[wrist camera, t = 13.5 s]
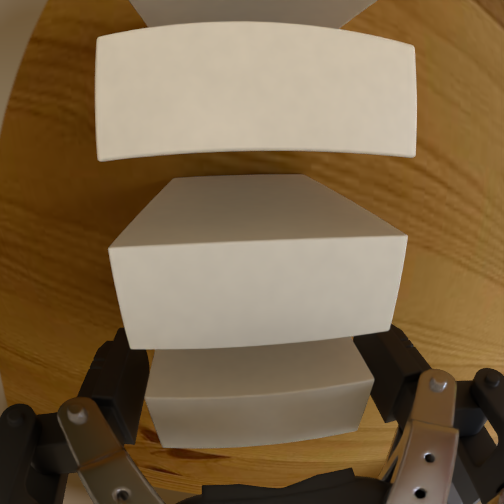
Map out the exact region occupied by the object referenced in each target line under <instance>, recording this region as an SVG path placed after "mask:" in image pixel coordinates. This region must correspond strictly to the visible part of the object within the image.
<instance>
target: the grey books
mask: <svg viewBox="0 0 504 504" xmlns="http://www.w3.org/2000/svg"><path fill="white" fill-rule="evenodd" d="M479 501H480V498H479V496H478V494H477V492H476V490H475V488H474V486H473V484H472V482H471V479H470V477H469V475H468V473H467V471H466V469H465V467H464V466H463V464H462V462H461V460H460V458H459V456H458V454H457V453H456V460H455V466H454V471H453V477H452V482H451V487H450V491H449V496H448V500H447V504H476V503H477V502H479Z"/></svg>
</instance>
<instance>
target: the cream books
mask: <svg viewBox="0 0 504 504" xmlns="http://www.w3.org/2000/svg"><path fill="white" fill-rule="evenodd" d="M129 1H130V3H131V4H132V5H133V7H134V8H135V10H136V11H137V12H138V14H139V15H140V16H141V18H142V19H143V21H144V22H145V23H146V25H147V26H148V27H149V28H143V29H136V30H130V31H125V32H119V33H114V34H109V35H105V36H100V37H98V38H97V41H96V61H95V125H96V146H97V159H98V161H101V162H103V161H111V160H120V159H129V158H138V157H149V156H160V155H173V154H187V153H205V152H229V151H318V152H342V153H359V154H374V155H386V156H397V157H407V158H413V157H415V155H416V129H417V90H416V65H415V50H414V46H412V45H410V44H406V43H402V42H399V41H395V40H391V39H387V38H382V37H378V36H373V35H368V34H364V33H358V32H353V31H347V30H341V29H339V28H340V27H342V26H343V25H344V24H346V23H347V22H348V21H350V20H351V19H352V18H354V17H355V16H356V15H358V14H359V13H360V12H362V11H363V10H365V9H366V8H367V7H369V6H370V5H372V4H373V3H374V2H376V1H377V0H129ZM407 239H408V236H407V235H406V234H404V233H403V232H401V231H400V230H398V229H396V228H395V227H393V226H392V225H390V224H388V223H387V222H385V221H384V220H382V219H380V218H379V217H377V216H376V215H374V214H372V213H371V212H369V211H367V210H366V209H364V208H362V207H361V206H359V205H357V204H355V203H354V202H352V201H350V200H349V199H347V198H345V197H343V196H342V195H340V194H338V193H336V192H335V191H333V190H331V189H329V188H328V187H326V186H324V185H322V184H320V183H319V182H317V181H315V180H313V179H311V178H309V177H307V176H306V175H304V174H259V175H224V176H202V177H184V178H173V179H172V180H171V181H170V182H169V183H168V184H167V185H166V186H165V187H164V188H163V189H162V190H161V191H160V192H159V193H158V194H157V195H156V196H155V197H154V198H153V200H152V201H151V202H150V203H149V204H148V205H147V206H146V207H145V208H144V209H143V210H142V211H141V212H140V213H139V214H138V215H137V216H136V217H135V219H134V220H133V221H132V222H131V223H130V224H129V225H128V226H127V227H126V228H125V229H124V231H123V232H122V233H121V234H120V235H119V236H118V237H117V238H116V240H115V241H114V242H113V243H112V244H111V245H110V246H109V247H108V252H109V258H110V264H111V269H112V274H113V279H114V284H115V289H116V294H117V298H118V303H119V307H120V311H121V315H122V320H123V324H124V328H125V331H126V335H127V339H128V343H129V346H130V349H207V348H230V347H247V346H262V345H275V344H287V343H298V342H307V341H317V340H326V339H334V338H342V337H350V336H357V335H364V334H371V333H377V332H384V331H388V330H389V329H390V325H391V321H392V317H393V313H394V308H395V304H396V299H397V295H398V290H399V285H400V280H401V274H402V269H403V263H404V258H405V252H406V245H407Z"/></svg>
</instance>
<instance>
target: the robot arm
mask: <svg viewBox="0 0 504 504" xmlns="http://www.w3.org/2000/svg"><path fill="white" fill-rule="evenodd" d="M353 342H354V344H355V346H356V347H357V349H358V351H359V353H360V354H361V356H362V358H363V360H364V361H365V363H366V365H367V367H368V368H369V370H370V372H371V374H372V375H373V377H374V383H373V386H372V389H371V392H370V395H371V397H372V399H373V401H374V402H375V404H376V406H377V408H378V410H379V412H380V414H381V416H382V418H383V420H384V422H385V423H388V422H391V421H395V420H397V422H398V424H399V425H398V427H397V429H396V431H395V435H394V438H393V441H392V444H391V447H390V450H389V452H388V455H387V458H386V461H385V464H384V466H383V469H382V471H381V473H380V475H379V477H378V479H375V478H370V477H361V476H355V475H354V472H353V470H352V468H348V469H344V470H339V471H334V472H330V473H324V474H319V475H316V476H313V477H311V478H308V479H306V480H303V481H301V482H298V483H295V484H293V485H290V486H287V487H284V488H267V487H258V486H250V485H242V484H233V485H202V494H201V495H196V496H193V497H190V498H187V499H185V500H182V501H180V502H178V503H176V504H447V500H448V496H449V491H450V487H451V482H452V477H453V471H454V466H455V460H456V453H457V454H458V456H459V458H460V460H461V462H462V464H463V466H464V467H465V469H466V471H467V473H468V475H469V477H470V479H471V482H472V484H473V486H474V488H475V490H476V492H477V494H478V496H479V498H480V500H481V503H482V504H504V376H503V375H502V374H501V373H500V372H498V371H497V370H494V369H491V368H483V369H480V370H479V371H478V372H477V373H476V375H475V377H474V379H473V380H471V381H455V379H454V377H453V376H452V375H450V374H449V373H447V372H446V371H443V370H440V369H432V368H431V367H430V366H429V364H428V363H427V362H426V360H425V359H424V358H423V357H422V355H421V354H420V353H419V352H418V350H417V349H416V348H415V347H413V344H412V343H411V341H410V340H408V338H407V336H406V335H405V334H404V333H403V331H402V330H400V329H399V328H397V327H396V326H394V325H393V324H391V325H390V329H389V330H388V331H384V332H377V333H371V334H364V335H357V336H354V338H353ZM148 378H149V360H148V356H147V352H146V349H130V346H129V343H128V339H127V335H126V331H125V328H119V329H118V331H117V334H116V336H115V338H114V341H106V342H105V343H104V344H103V345H102V346H101V347H100V348H99V349H98V350H97V352H96V355H95V357H94V361H92V363H91V366H90V369H89V370H88V372H87V375H86V377H85V379H84V382H83V384H82V386H81V389H80V391H79V393H78V396H77V397H75V398H72V399H69V400H67V401H66V402H64V403H63V404H62V405H61V406H60V408H59V410H58V412H56V413H49V414H41V415H36V414H35V413H34V411H33V409H32V408H31V407H30V406H28V405H26V404H15V405H12V406H10V407H8V408H7V409H6V410H5V411H4V412H3V413H2V415H1V417H0V504H63V499H64V493H65V488H66V483H67V478H68V474H69V473H75V472H77V473H78V475H79V477H80V479H81V481H82V483H83V485H84V487H85V488H86V490H87V492H88V494H89V496H90V498H91V500H92V501H93V503H94V504H166V503H165V502H164V501H163V500H162V498H161V497H160V496H159V495H158V493H156V491H155V490H154V488H153V487H152V486H151V484H150V483H149V482H148V480H147V479H146V478H145V476H144V475H143V474H142V472H141V471H140V470H139V468H138V467H137V465H136V464H135V463H134V461H133V460H132V458H131V457H130V455H129V454H128V452H127V451H126V450H125V448H124V444H133V445H135V441H136V436H137V431H138V425H139V420H140V415H141V411H142V406H143V401H144V396H145V392H146V387H147V383H148ZM487 420H488V421H489V422H490V424H491V425H492V427H493V428H494V430H495V431H496V433H497V435H498V445H497V446H496V444H495V443H494V441H493V439H492V438H491V436H490V435H489V433H488V431H487V430H486V428H485V427H484V424H485V423H486V421H487Z"/></svg>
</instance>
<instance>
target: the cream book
mask: <svg viewBox="0 0 504 504" xmlns="http://www.w3.org/2000/svg"><path fill="white" fill-rule="evenodd" d="M373 383H374V377H373V375H372V374H371V372H370V370H369V368H368V367H367V365H366V363H365V361H364V360H363V358H362V356H361V354H360V353H359V351H358V349H357V347H356V346H355V344H354V342H353V341H352V339H351V337H342V338H334V339H326V340H317V341H307V342H298V343H287V344H275V345H262V346H247V347H230V348H207V349H155V353H154V357H153V362H152V366H151V370H150V375H149V379H148V384H147V388H146V393H145V397H144V398H145V401H146V404H147V407H148V409H149V412H150V415H151V418H152V421H153V423H154V426H155V429H156V431H157V434H158V437H159V439H160V442H161V444H162V447H164V448H228V447H246V446H259V445H270V444H279V443H287V442H295V441H302V440H309V439H315V438H321V437H327V436H332V435H338V434H343V433H348V432H352V431H356V430H357V429H358V426H359V424H360V421H361V418H362V415H363V413H364V410H365V407H366V404H367V401H368V398H369V395H370V392H371V389H372V386H373Z"/></svg>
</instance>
